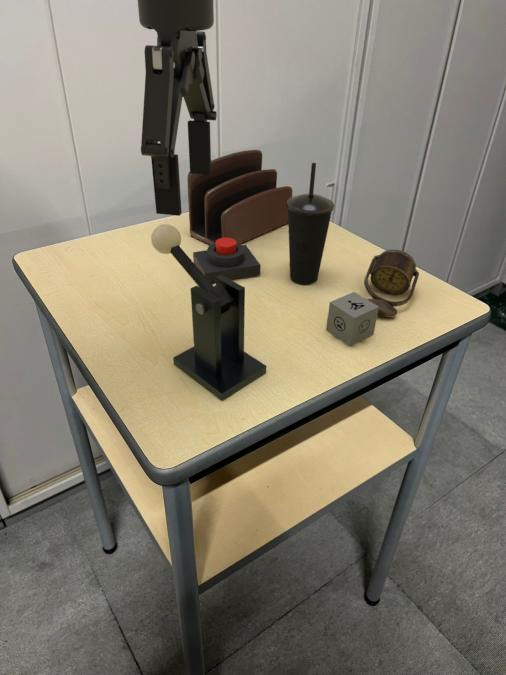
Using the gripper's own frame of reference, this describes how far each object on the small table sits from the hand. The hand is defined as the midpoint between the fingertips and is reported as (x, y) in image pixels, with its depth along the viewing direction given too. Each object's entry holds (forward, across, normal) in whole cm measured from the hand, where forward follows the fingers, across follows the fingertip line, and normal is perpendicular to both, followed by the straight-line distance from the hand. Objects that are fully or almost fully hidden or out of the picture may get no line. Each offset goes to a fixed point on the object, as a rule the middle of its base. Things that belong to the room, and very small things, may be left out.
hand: (186, 192), depth 63 cm
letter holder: (+22, +37, 0) cm, 43 cm away
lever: (+10, -3, 0) cm, 11 cm away
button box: (+22, +20, 0) cm, 30 cm away
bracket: (+22, -7, -6) cm, 23 cm away
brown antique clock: (+22, +17, -28) cm, 39 cm away
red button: (+18, +20, 0) cm, 27 cm away
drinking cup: (+22, +20, -14) cm, 33 cm away
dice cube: (+22, +6, -23) cm, 32 cm away
